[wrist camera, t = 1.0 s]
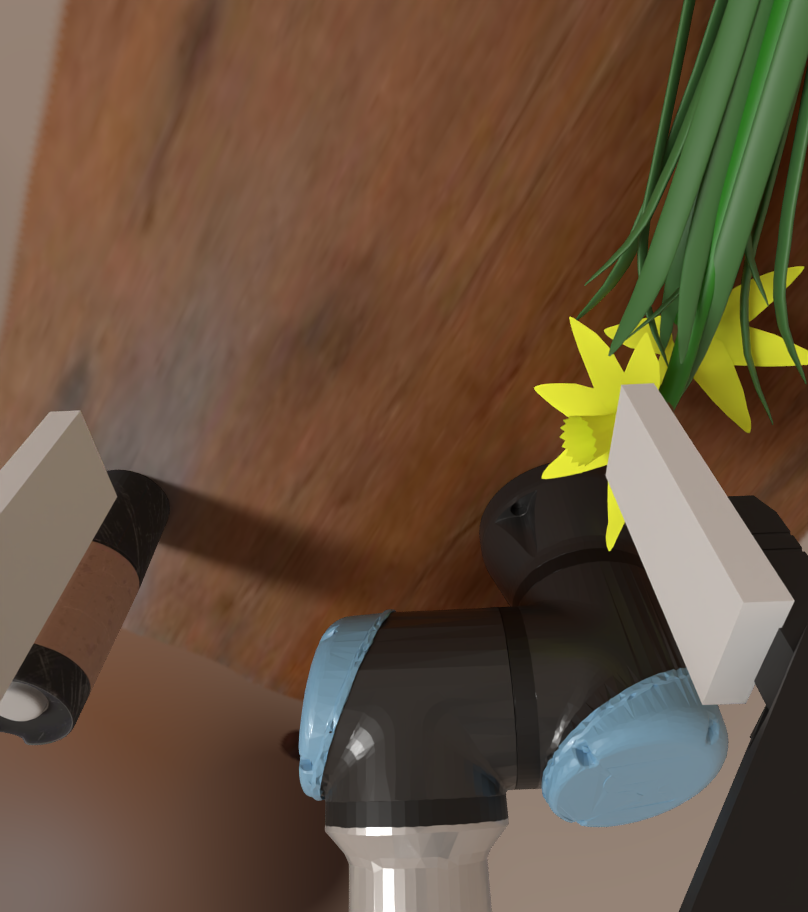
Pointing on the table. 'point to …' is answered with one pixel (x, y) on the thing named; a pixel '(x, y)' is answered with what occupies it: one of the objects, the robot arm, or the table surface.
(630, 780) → the robot arm
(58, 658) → the travel mug
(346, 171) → the table surface
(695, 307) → the daffodil flowers
